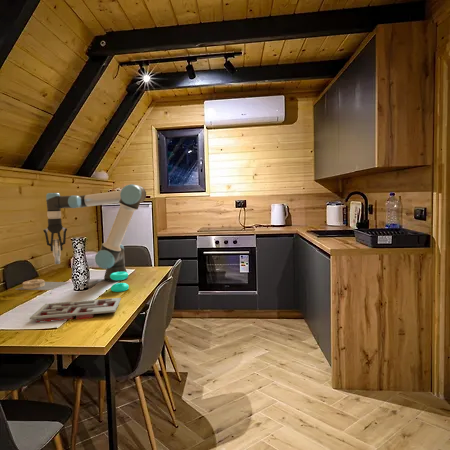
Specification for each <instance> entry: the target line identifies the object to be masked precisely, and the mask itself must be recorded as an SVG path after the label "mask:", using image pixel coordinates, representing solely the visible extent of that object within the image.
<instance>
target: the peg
mask: <svg viewBox="0 0 450 450" xmlns="http://www.w3.org/2000/svg"><path fill="white" fill-rule="evenodd" d="M59 245H60V242H59V238H57V239H53V246H54V252H55V257H54V265H60V264H61V256H60V254H59Z"/></svg>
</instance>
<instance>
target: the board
mask: <svg viewBox="0 0 450 450" xmlns="http://www.w3.org/2000/svg"><path fill="white" fill-rule="evenodd" d="M44 283H45V285H44V286H42V287H39V288H33V289H24V288H23V286H21V287H17V288H15V289H14V290H21V291H22V290H24V291H25V290H27V291H28V290H29V291H30V290H31V291H35V290H36V291H52V290H55V289H57V288H60V287H62V286H65V285H67V284H69V283H70V284H71V282H70V281H66V282H65V281H44Z"/></svg>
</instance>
